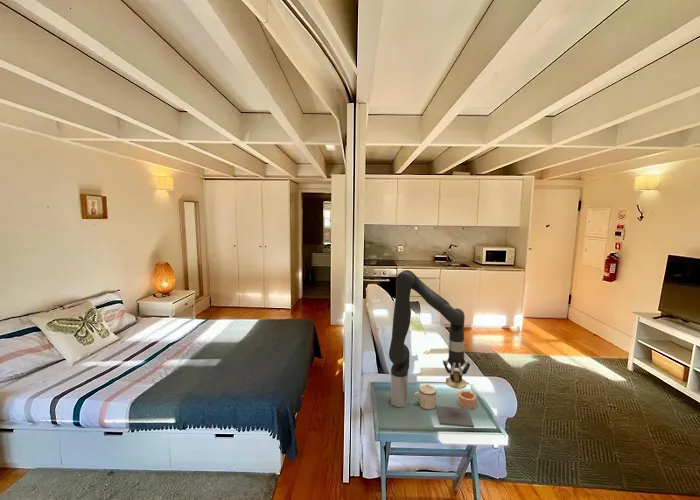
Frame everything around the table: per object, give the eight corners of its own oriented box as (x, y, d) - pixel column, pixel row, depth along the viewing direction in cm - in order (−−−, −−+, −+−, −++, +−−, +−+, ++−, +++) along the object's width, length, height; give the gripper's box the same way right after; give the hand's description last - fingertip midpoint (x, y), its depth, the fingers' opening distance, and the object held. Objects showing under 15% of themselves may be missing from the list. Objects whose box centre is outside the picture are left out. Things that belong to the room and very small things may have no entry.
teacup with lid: (434, 400, 173) (434, 380, 172) (437, 410, 164) (438, 389, 163) (412, 399, 174) (413, 380, 173) (415, 409, 165) (415, 388, 164)
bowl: (460, 408, 166) (460, 399, 165) (456, 398, 175) (457, 390, 174) (477, 409, 164) (478, 400, 164) (473, 399, 173) (474, 391, 173)
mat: (439, 424, 153) (440, 422, 153) (436, 407, 166) (436, 406, 166) (473, 427, 150) (473, 425, 150) (467, 410, 164) (467, 408, 164)
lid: (447, 388, 154) (447, 376, 153) (444, 378, 163) (444, 366, 163) (468, 389, 152) (468, 377, 151) (464, 379, 162) (464, 368, 161)
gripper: (443, 350, 154) (442, 383, 155) (472, 352, 151) (472, 385, 153) (441, 344, 161) (441, 376, 162) (469, 346, 158) (468, 378, 160)
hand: (456, 380), depth 157 cm, fingers closed on lid, 3 cm apart
